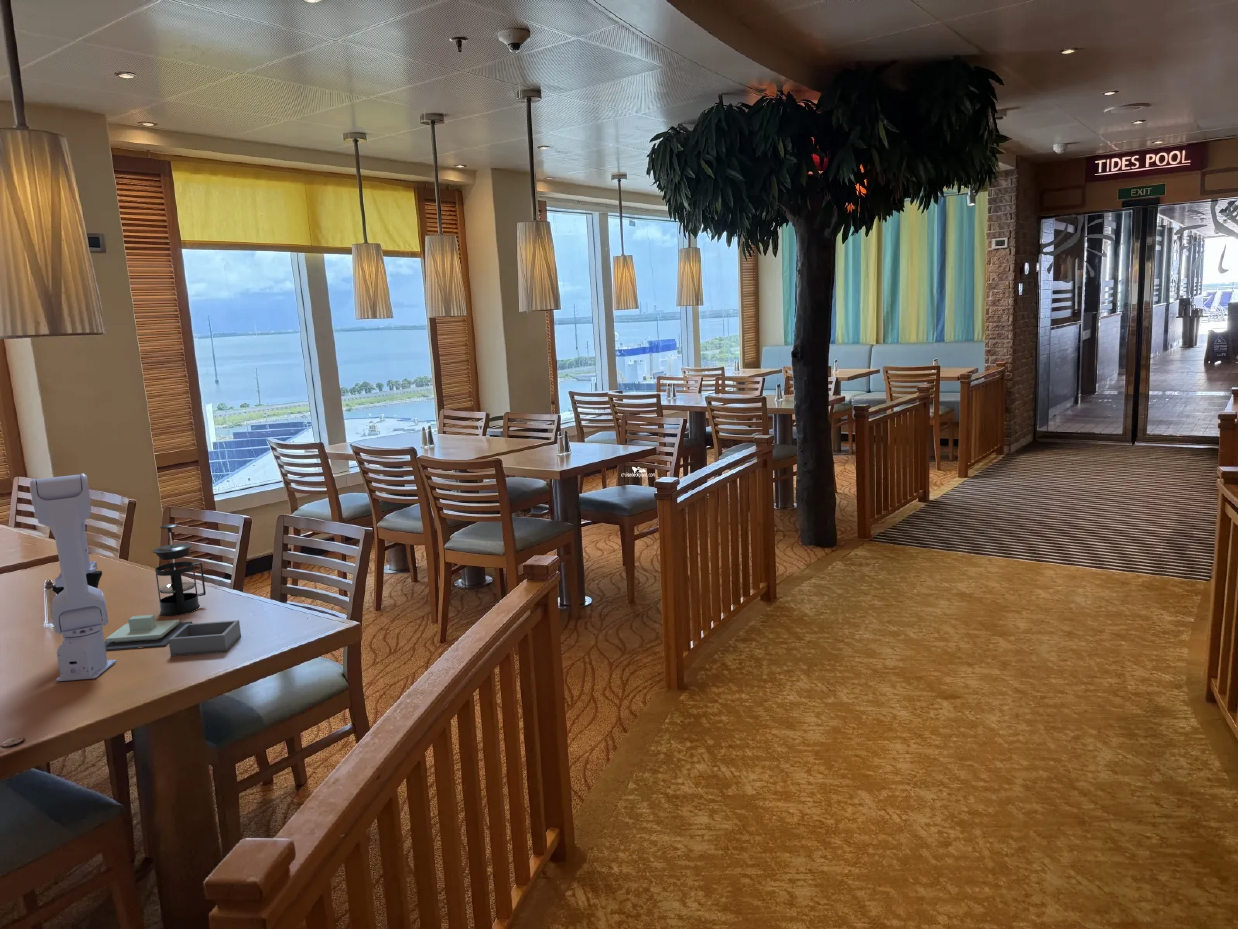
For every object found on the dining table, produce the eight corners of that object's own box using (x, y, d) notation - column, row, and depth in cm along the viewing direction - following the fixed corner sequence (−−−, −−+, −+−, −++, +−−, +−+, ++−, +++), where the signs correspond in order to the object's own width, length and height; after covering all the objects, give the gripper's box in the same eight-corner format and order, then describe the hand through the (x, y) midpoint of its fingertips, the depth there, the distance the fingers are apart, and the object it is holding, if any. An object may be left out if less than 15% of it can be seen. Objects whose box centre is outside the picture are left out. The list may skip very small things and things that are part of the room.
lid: (161, 641, 200) (159, 622, 200) (106, 645, 199) (103, 626, 198) (179, 625, 210) (177, 608, 210) (127, 629, 209) (124, 611, 209)
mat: (165, 646, 198) (165, 644, 198) (92, 651, 196) (92, 650, 196) (192, 623, 214) (192, 621, 213) (125, 628, 212) (125, 626, 212)
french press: (159, 619, 218) (147, 531, 214) (155, 610, 225) (143, 525, 222) (209, 609, 224) (198, 523, 220) (204, 600, 232) (193, 518, 228)
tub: (226, 652, 192) (224, 635, 192) (170, 656, 191) (168, 639, 191) (241, 636, 202) (239, 620, 202) (188, 640, 201) (186, 624, 200)
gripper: (75, 558, 190) (84, 617, 192) (107, 542, 204) (115, 597, 206) (41, 560, 189) (51, 619, 191) (76, 544, 203) (84, 599, 205)
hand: (82, 608), depth 198 cm, fingers open, 7 cm apart
